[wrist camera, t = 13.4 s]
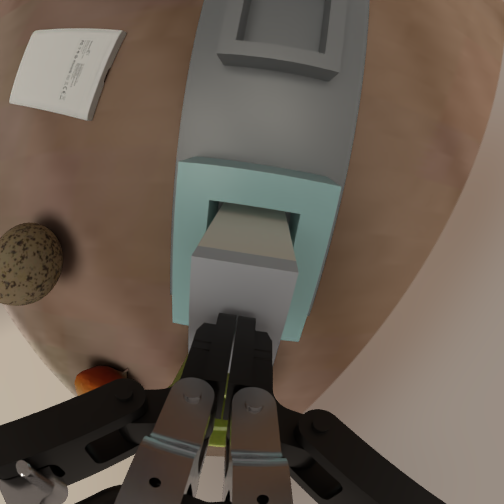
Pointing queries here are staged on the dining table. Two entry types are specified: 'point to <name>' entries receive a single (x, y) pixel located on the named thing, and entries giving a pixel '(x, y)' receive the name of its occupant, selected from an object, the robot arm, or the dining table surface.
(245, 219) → the plug
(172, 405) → the robot arm
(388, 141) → the dining table surface
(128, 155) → the dining table surface
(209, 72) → the panel
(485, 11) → the dining table surface
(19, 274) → the decorative egg
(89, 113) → the external hard drive
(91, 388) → the fruit
